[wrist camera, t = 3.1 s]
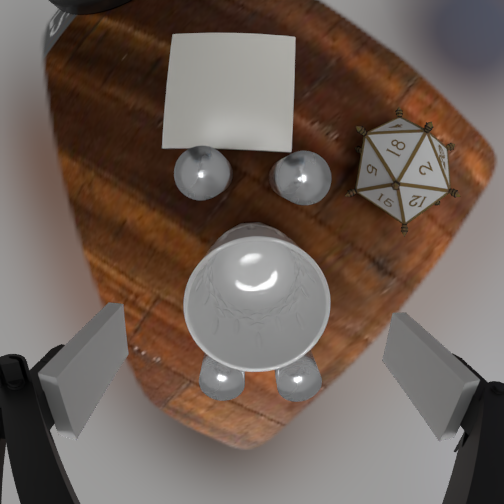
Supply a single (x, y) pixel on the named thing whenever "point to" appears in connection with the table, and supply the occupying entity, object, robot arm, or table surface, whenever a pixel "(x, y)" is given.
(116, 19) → the table surface
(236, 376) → the spacer posts
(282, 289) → the white cup
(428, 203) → the game die
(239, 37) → the coaster
